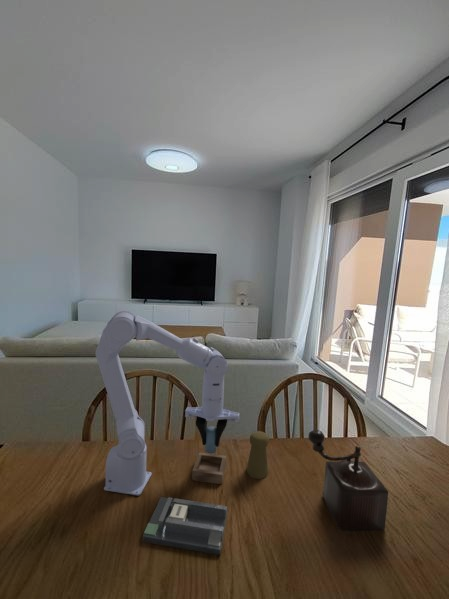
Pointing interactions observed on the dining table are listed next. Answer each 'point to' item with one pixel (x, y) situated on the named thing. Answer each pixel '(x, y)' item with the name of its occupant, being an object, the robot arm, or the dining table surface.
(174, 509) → the plate
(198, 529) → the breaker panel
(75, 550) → the dining table surface
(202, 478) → the stylus holder
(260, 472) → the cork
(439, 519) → the dining table surface
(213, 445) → the blue rounded cylinder
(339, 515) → the manual coffee grinder
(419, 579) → the dining table surface
